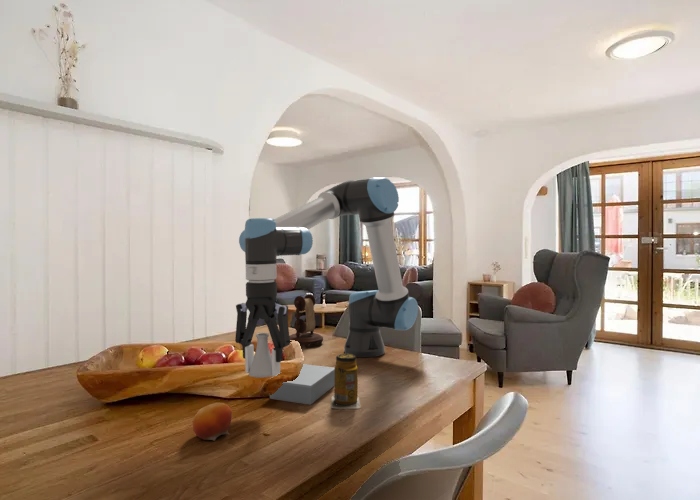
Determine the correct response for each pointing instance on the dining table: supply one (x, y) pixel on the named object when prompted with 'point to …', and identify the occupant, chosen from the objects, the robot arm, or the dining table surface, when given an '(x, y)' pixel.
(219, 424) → the fruit
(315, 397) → the slate box
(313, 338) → the brown sculpture on stand
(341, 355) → the condiment
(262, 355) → the flask
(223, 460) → the dining table surface
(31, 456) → the dining table surface
